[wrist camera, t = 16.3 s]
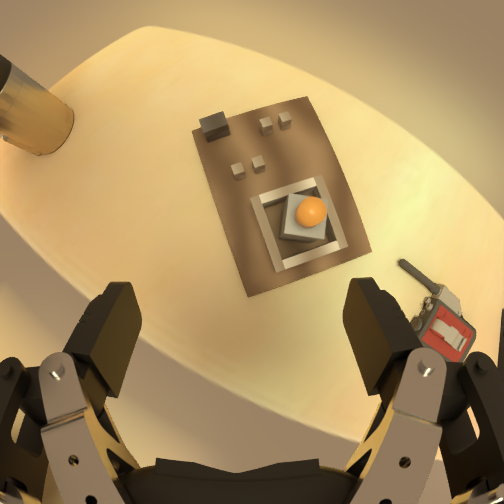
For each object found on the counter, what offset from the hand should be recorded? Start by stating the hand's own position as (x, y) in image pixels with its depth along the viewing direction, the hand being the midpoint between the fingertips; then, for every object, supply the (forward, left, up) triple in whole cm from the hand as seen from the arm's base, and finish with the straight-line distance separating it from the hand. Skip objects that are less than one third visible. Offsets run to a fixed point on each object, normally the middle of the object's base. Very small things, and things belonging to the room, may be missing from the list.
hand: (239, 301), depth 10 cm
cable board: (+6, +8, -23) cm, 26 cm away
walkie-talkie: (+22, -15, -24) cm, 36 cm away
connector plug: (+6, +3, -22) cm, 23 cm away
